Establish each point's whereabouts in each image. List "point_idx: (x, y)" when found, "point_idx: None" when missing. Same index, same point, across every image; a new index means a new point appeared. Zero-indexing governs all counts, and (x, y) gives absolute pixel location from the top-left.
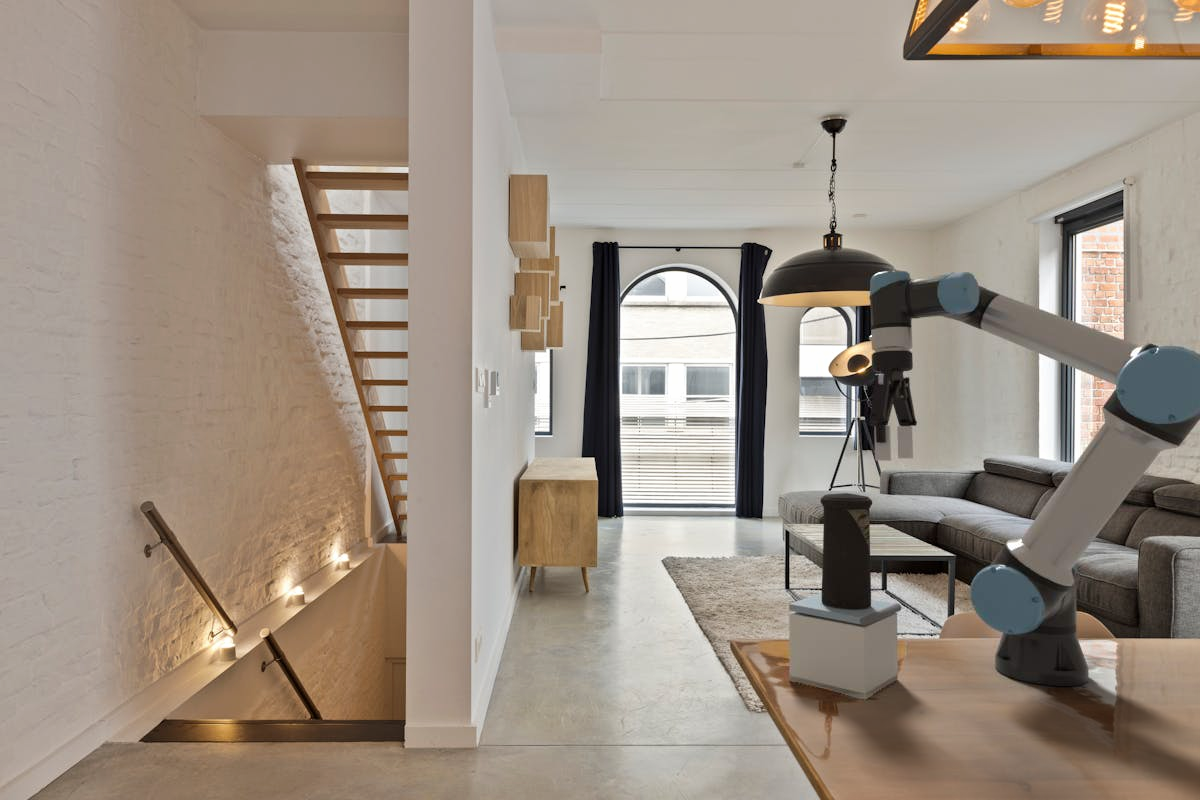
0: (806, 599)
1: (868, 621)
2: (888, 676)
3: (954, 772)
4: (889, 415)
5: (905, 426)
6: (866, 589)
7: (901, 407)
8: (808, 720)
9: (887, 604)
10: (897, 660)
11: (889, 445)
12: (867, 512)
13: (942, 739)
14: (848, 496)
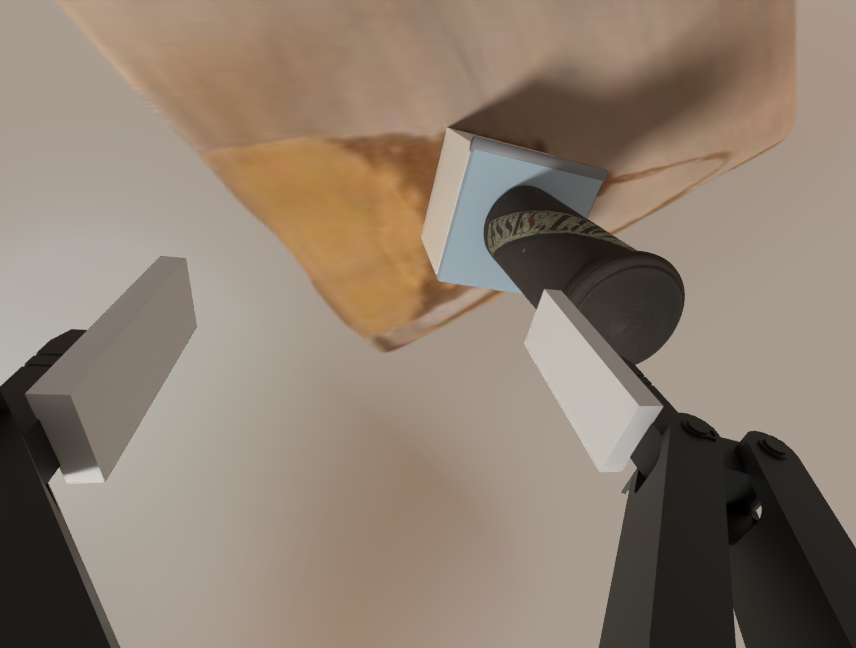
0: (511, 287)
1: (603, 169)
2: (482, 137)
3: (752, 7)
4: (676, 472)
5: (88, 430)
6: (554, 197)
7: (110, 634)
8: (633, 196)
9: (487, 161)
10: (453, 131)
11: (593, 329)
12: (632, 250)
13: (659, 31)
14: (665, 310)
